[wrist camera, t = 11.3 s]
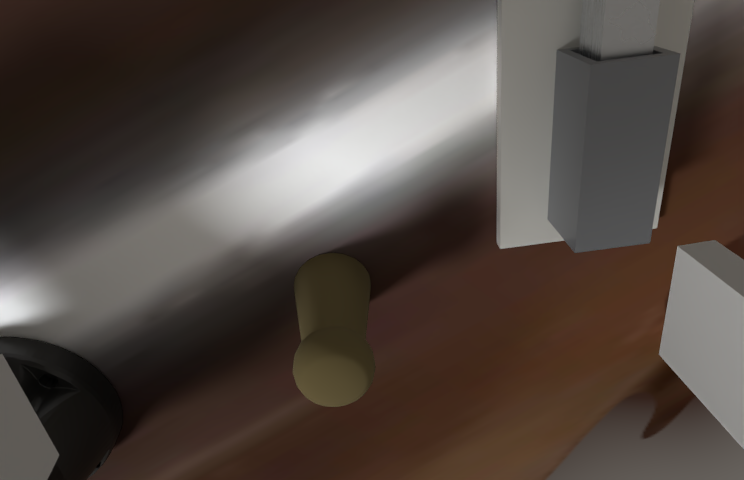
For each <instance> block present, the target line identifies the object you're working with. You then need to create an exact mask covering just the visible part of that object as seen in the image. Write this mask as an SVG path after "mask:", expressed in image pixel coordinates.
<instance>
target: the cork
mask: <svg viewBox="0 0 744 480" xmlns="http://www.w3.org/2000/svg"><path fill="white" fill-rule="evenodd" d="M370 290H371V282H370V277H369V274H368V272H367V270H366V269H365V267H364V266H363V265H362V264H361V263H360V262H359V261H357V260H356V259H355V258H352V257H350V256H347V255H345V254H339V253H327V254H321V255H318V256H316V257H314V258H311V259H309V260H308V261H307V262H306V263H305V264H303V265H302V266H301V267H300V269H299V270H298V272H297V274H296V276H295V281H294V293H295V300H296V307H297V314H298V321H299V328H300V335H301V344H300V345H299V347H298V349H297V351H296V353H295V355H294V364H293V374H294V378H295V381H296V384H297V387H298V388H299V390H300V391H301V392H302V393H303V395H304V396H305V397H306V398H308V399H309V400H311V401H312V402H314V403H316V404H319V405H323V406H329V407H338V406H344V405H348V404H350V403H352V402H354V401H356V400H358V399H359V398H360V397H361V396H363V395H364V394H365V392H366V391H367V390H368V388H369V387H370V385H371V384H372V381H373V377H374V372H375V360H374V356H373V351H372V349H371V347H370V346H369V344H368V343H367V341H366V330H367V320H368V310H369V300H370Z"/></svg>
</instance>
